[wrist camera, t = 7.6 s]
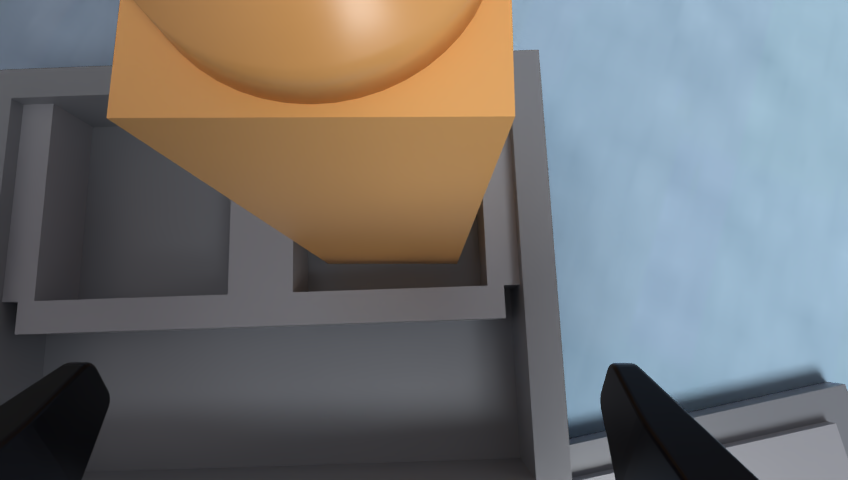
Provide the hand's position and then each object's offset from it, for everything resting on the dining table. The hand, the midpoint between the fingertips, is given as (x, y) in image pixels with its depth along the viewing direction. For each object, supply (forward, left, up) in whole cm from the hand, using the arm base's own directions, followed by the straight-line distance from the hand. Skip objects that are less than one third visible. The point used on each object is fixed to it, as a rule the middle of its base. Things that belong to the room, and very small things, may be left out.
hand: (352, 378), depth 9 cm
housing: (+3, +4, -9) cm, 11 cm away
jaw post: (+5, 0, -8) cm, 10 cm away
